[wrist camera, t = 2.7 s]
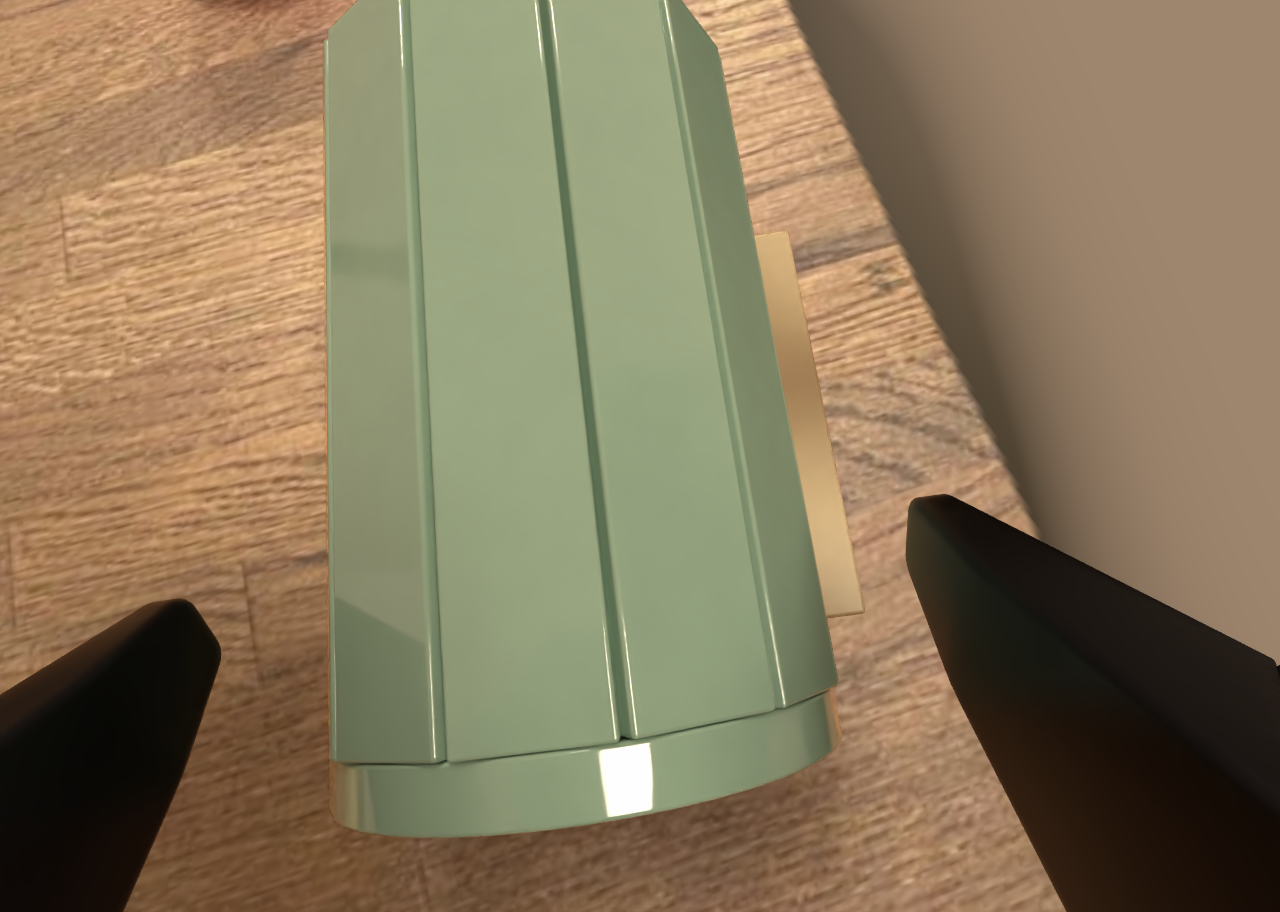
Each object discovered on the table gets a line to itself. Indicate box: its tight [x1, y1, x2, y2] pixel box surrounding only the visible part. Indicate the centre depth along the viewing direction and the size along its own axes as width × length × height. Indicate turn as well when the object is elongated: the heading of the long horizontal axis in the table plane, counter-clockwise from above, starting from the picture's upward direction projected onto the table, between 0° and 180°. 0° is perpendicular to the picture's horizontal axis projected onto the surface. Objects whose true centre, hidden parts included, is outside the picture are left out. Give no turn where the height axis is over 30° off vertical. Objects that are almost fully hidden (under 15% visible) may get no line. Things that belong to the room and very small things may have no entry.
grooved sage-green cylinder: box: [323, 0, 842, 838], centre depth 11 cm, size 11×7×7 cm, turn 7°
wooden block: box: [754, 231, 865, 618], centre depth 16 cm, size 8×10×6 cm
